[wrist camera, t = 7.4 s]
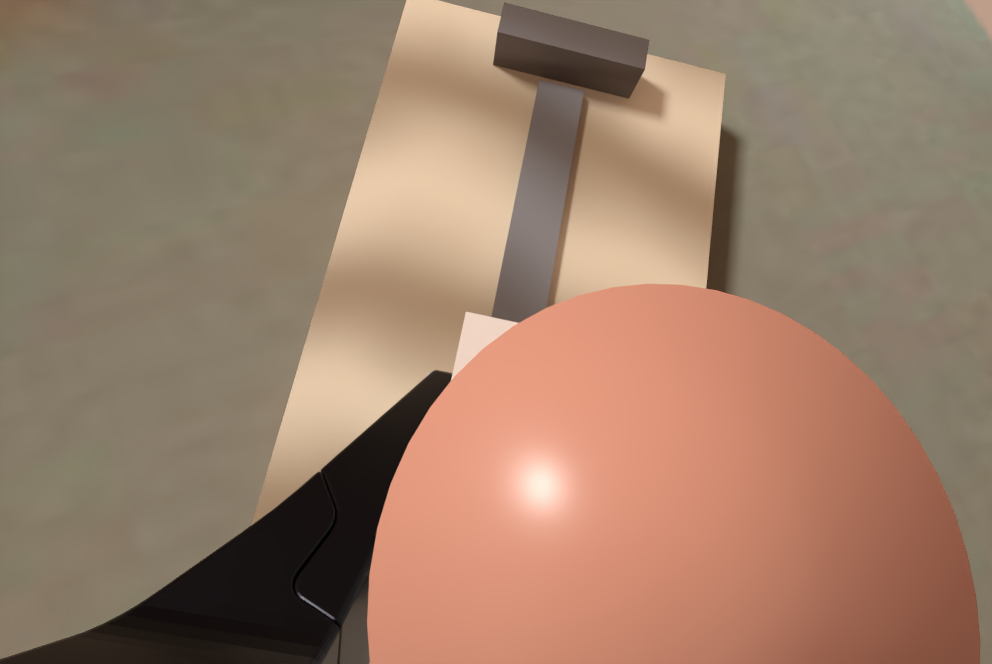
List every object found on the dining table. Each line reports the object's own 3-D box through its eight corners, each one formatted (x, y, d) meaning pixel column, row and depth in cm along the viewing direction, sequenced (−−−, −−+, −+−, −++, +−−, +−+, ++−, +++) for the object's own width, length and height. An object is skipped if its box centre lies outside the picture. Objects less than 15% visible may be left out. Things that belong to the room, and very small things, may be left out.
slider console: (625, 794, 14) (682, 904, 11) (214, 730, 13) (139, 827, 10) (697, 110, 20) (748, 43, 16) (412, 38, 19) (405, -47, 16)
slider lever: (557, 559, 13) (1098, 1129, 2) (395, 529, 12) (137, 1017, 2) (579, 410, 14) (1034, 318, 3) (429, 379, 13) (377, 165, 3)
